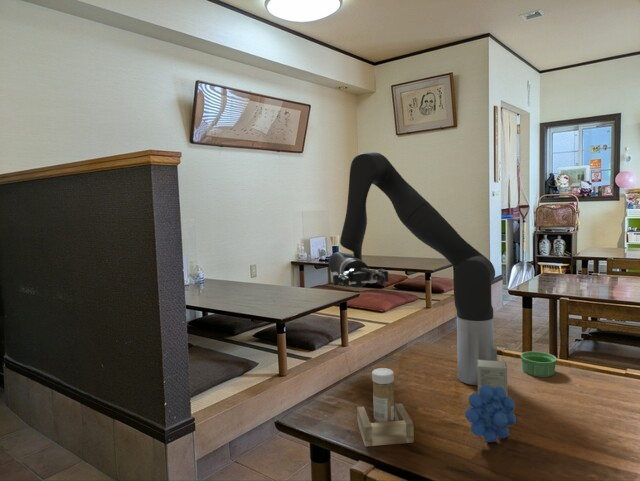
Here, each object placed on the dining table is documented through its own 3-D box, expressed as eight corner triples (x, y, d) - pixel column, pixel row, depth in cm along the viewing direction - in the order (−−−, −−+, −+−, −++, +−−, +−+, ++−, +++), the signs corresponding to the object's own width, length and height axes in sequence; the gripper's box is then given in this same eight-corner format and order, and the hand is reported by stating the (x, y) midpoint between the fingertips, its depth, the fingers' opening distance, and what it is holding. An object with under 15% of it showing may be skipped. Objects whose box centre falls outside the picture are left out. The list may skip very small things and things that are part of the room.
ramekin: (521, 376, 121) (521, 360, 121) (520, 364, 130) (520, 349, 129) (558, 380, 118) (558, 363, 117) (554, 367, 126) (554, 352, 126)
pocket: (401, 420, 99) (401, 403, 99) (413, 442, 90) (413, 423, 90) (357, 424, 98) (357, 407, 98) (365, 446, 89) (364, 427, 89)
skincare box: (507, 412, 101) (506, 360, 100) (508, 422, 97) (508, 368, 96) (477, 409, 103) (477, 358, 102) (477, 418, 99) (477, 365, 98)
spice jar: (399, 433, 94) (398, 371, 93) (383, 440, 91) (381, 377, 90) (385, 425, 98) (383, 365, 96) (369, 431, 95) (367, 370, 94)
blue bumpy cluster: (480, 459, 84) (480, 397, 83) (459, 441, 90) (458, 383, 89) (530, 446, 87) (531, 387, 86) (506, 430, 93) (506, 375, 92)
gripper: (328, 260, 124) (335, 267, 108) (378, 257, 126) (392, 264, 109) (329, 286, 125) (336, 298, 109) (379, 283, 126) (393, 294, 110)
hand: (364, 281), depth 109 cm, fingers open, 8 cm apart
